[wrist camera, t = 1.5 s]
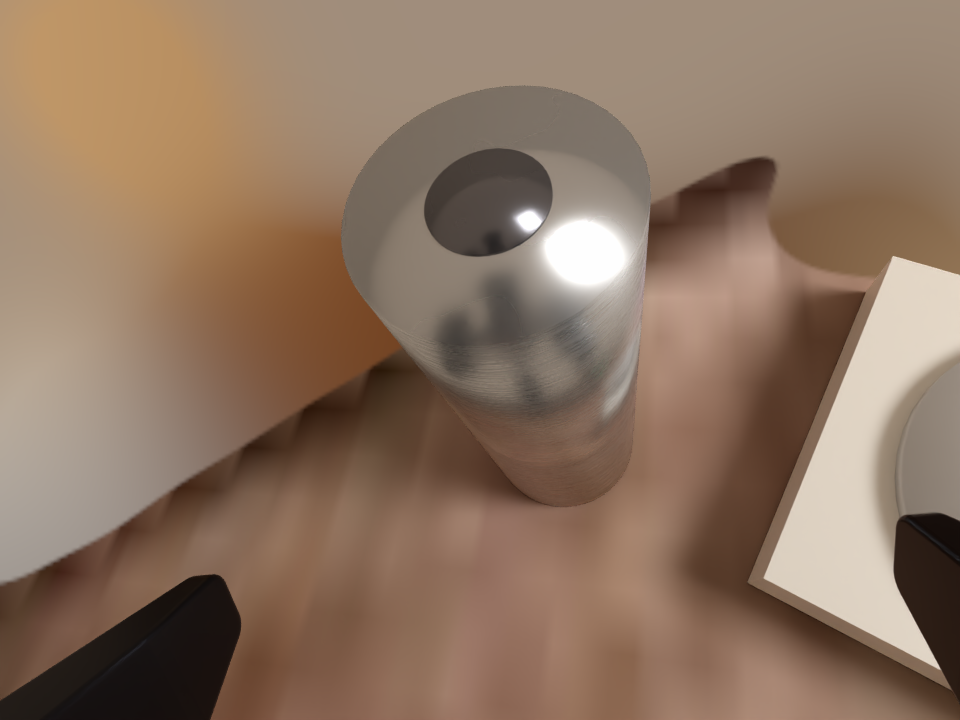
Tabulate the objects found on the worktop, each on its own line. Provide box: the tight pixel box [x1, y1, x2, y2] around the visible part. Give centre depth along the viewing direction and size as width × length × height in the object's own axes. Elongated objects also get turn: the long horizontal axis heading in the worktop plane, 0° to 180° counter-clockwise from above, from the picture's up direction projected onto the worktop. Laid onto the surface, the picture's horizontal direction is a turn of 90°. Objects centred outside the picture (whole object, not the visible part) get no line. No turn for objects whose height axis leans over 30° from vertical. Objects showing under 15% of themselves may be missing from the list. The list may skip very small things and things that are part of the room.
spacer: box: [341, 86, 651, 507], centre depth 15 cm, size 5×5×13 cm
